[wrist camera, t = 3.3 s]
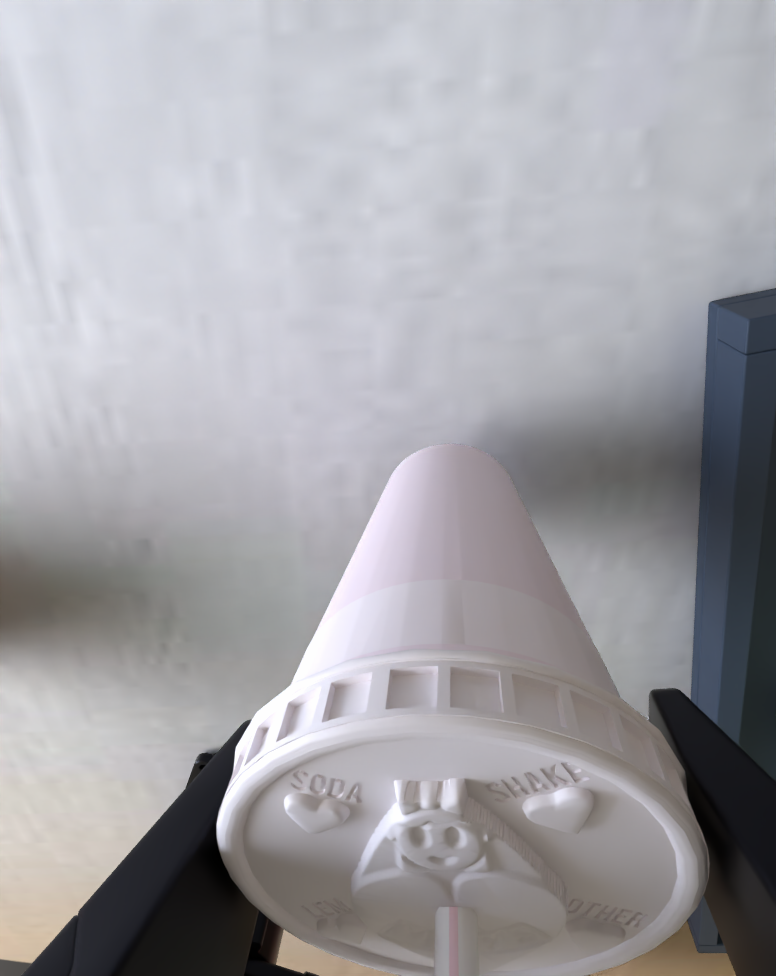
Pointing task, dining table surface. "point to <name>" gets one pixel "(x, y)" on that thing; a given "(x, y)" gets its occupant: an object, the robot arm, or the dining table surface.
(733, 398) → the tray
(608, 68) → the dining table surface
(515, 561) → the smoothie
